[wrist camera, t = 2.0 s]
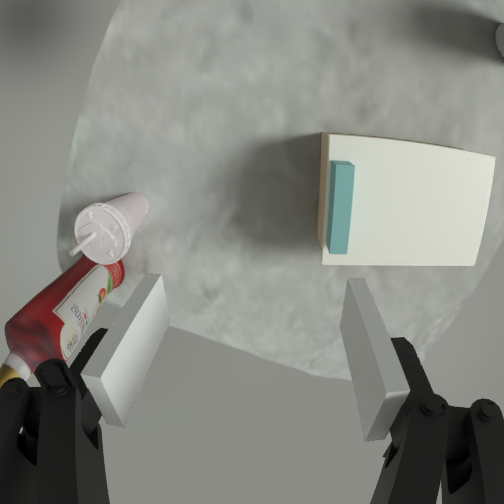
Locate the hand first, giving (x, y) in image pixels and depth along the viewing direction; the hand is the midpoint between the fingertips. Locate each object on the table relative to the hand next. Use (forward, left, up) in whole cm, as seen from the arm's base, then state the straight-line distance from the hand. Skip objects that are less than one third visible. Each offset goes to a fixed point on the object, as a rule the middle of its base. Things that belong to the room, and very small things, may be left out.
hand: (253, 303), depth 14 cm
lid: (0, +15, -17) cm, 23 cm away
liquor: (+10, -22, -24) cm, 34 cm away
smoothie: (+2, -16, -24) cm, 29 cm away
